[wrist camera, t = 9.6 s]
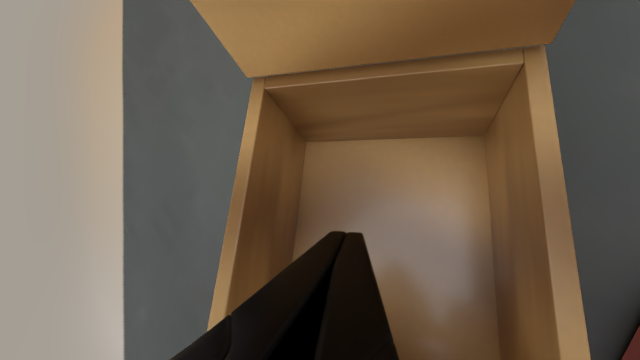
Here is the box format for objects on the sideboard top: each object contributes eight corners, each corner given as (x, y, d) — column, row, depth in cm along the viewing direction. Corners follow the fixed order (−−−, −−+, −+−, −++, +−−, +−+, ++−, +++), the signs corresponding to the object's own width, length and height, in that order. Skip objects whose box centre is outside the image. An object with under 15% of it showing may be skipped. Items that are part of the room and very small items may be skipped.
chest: (517, 408, 15) (617, 537, 8) (274, 357, 19) (191, 409, 12) (494, 129, 19) (545, 44, 12) (301, 137, 23) (252, 77, 16)
